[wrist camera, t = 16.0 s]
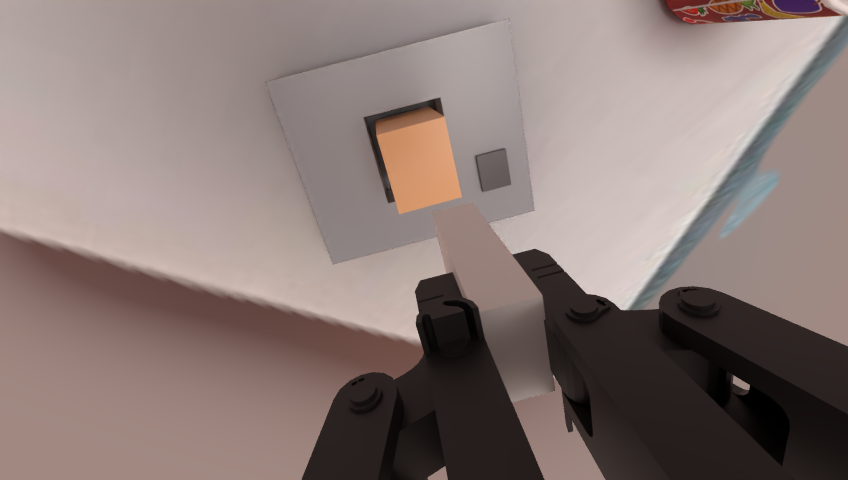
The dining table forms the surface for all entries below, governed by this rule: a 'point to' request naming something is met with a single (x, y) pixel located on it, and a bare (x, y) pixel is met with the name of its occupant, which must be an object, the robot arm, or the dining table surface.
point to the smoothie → (754, 10)
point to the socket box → (394, 88)
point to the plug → (418, 158)
